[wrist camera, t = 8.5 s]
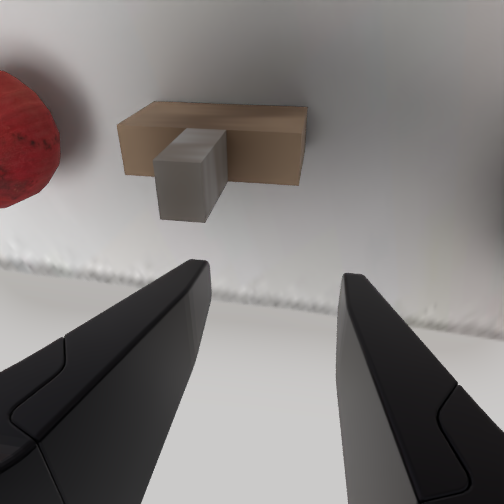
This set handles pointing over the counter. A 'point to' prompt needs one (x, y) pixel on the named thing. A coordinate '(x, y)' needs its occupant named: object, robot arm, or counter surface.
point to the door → (211, 151)
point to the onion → (25, 142)
